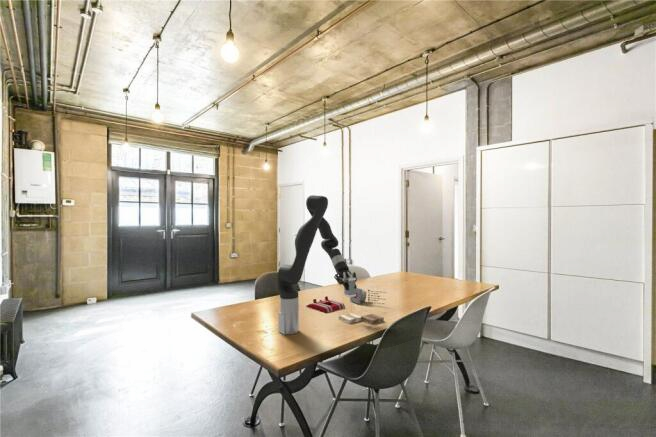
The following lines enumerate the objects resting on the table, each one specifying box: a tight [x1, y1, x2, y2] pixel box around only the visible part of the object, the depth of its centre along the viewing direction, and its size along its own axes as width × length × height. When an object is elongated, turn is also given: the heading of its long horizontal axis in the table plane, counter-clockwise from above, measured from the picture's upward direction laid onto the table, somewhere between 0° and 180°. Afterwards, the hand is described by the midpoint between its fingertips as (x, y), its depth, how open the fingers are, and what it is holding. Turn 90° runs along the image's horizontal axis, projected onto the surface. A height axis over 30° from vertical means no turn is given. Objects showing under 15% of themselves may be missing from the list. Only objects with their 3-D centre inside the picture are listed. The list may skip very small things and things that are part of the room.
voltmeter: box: [349, 287, 387, 306], centre depth 214 cm, size 27×11×10 cm, turn 63°
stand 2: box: [360, 313, 385, 325], centre depth 178 cm, size 9×9×2 cm
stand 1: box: [338, 312, 363, 324], centre depth 179 cm, size 9×9×2 cm
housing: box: [342, 277, 357, 298], centre depth 179 cm, size 5×5×10 cm
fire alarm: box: [305, 296, 346, 314], centre depth 206 cm, size 16×6×20 cm
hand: (351, 289), depth 177 cm, fingers closed on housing, 4 cm apart
